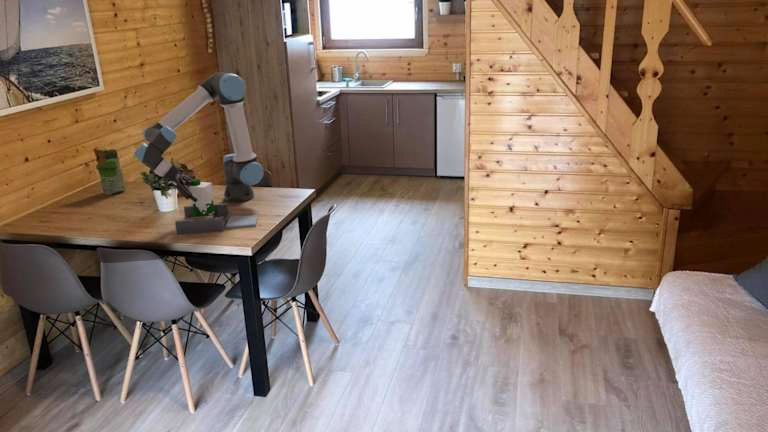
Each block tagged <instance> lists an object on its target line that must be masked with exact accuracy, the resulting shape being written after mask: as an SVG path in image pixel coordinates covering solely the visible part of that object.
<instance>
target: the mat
mask: <svg viewBox="0 0 768 432" xmlns="http://www.w3.org/2000/svg"><path fill="white" fill-rule="evenodd" d="M258 219H259V215H258V214H255V215H253V214H252V215H251V214H250V215H240V216H239V215H238V216H229V217H228V220H227V223H226V225H225V228H226V229H237V228H251V227H257V224H258V223H257V222H258Z"/></svg>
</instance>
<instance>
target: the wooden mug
mask: <svg viewBox="0 0 768 432" xmlns="http://www.w3.org/2000/svg"><path fill="white" fill-rule="evenodd" d="M170 163H171V165H172V166H175V167H176V168H178V169H179V171H180V172H181V173H182V174H184V175H185V176H187V177H189V178H191V179H197V177H196V175H197V174H196V172H195V171H194V169H193V168H192V169H185V170H184V169H183V168H182V165H181V163H180V161H178V159H175V158H172V157H171V159H170ZM186 187H187V188H188V189H189V186H187V185H186Z"/></svg>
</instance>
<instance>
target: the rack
mask: <svg viewBox="0 0 768 432" xmlns="http://www.w3.org/2000/svg"><path fill="white" fill-rule="evenodd" d="M183 211H184V212H183V213H184V218H183V219H180V220H175V221H174V224H175V230H176V235H178V236H179V235H191V234H204V233H218V232H224V231H225V228H226V226H227V223H228V220H229V217H230V213H229V211H230V210H229V204H228V202H226V203H214V211H215V218H207V219H193V220H185V219H186V218H190V217H194V212H193V205H184V206H183Z"/></svg>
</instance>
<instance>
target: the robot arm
mask: <svg viewBox="0 0 768 432" xmlns="http://www.w3.org/2000/svg"><path fill="white" fill-rule="evenodd" d="M246 91H247V87H246V82H245V81H244V79H243V78H242V77H240V76H239V75H237V74H235V73H231V72H230V73H229V72H223V71H218V72H215V73H213V74H211V75H210V76H209V77H207V78H206V79H204V81H202V82H200V84H198V85H197V89H196V90H195V91H194V92H193V93H191V94H190V95H189V96H188V97H187V98H185V99H184V100H183V101H181V102H180V103H179V104H178V105H177V106H175V107H174V108H173V109H172V110H171V111H170V112H168V113H167V114H166V115H165V116H163V117H162V118H161V119H160V120H159V121H157V122H156V123H154V124H153V125H151V126H147V127H146V128H144V129H143V133H142V134H143V135H142V137H143V139H144V140H145V141H146V142H147V143H148V144H147V143H145V142H143V143H141V144H140V146H139V147H138V148H137V149H136V150H135V151H134V154H133V155H134V158H135V159H137V160H138V161H139V162H141V164H143V165H145V166H146V167H147V168H149V170H151V171H152V172H153V173H155V175H158V176H159V177H162V179H163V180H164V181H165V182H167V183H170V182H171V181H172V182H171V185H172V186H173V187H174V188H175V189H176V190H177V191H178V192H179V193H180V194H181V195H182V196H183V197H184V199H186V200H187V201H188V200H191V202H192V201H193V202H194V203H196V204H197V205H198V206H200V207H202V206H203V205H204V204H205V202H204V201H202V200H201V199H200V198H198V197H197V196H196V195H194V194H193V195H192V193H191V192H190V190H189V189H188V188H187V187H186V185H187V186H190V185H191V180H193V179H191V178H189V177H187V176H185V175H184V174H182V173H181V172H180V173H179V174H178V172H179V169H178V168H176V167H175V166H173V165H172V164H171V161H169V160H167V159H166V158H165V157H164V156H163V155H164V154H165V153H166V151H167V150H168V149H169V148H170V147H171V145H173V143H175V141H176V140H177V138H178V134H177V132H175V130H176V129H177V128H179V127H180V126H181V125H183V124H184V123H185V122H186V121H188V120H189V119H190V118H191V117H192V116H193V115H194V114H196V113H197V112H198V111H199V110H201V109H202V108H203V107H204V106H205V105H206V104H208V103H209V102H210V103H212V102H214V101H215V100H217V99H218V101H219V105H220V106H221V107H223V108H224V112H225V117H226V121H227V125H228V129H229V135H230V139H231V142H232V143H231V144H232V147H233V153H230V154H226V155H224V156H223V158H222V159H223V160H222V161H223V162H222V164H223V169H224V179H225V183H226V184H225V188H224V194H223V197H224V200H225V201H226V202H231V203H232V202H234V203H237V202H245V201H249V200H252V199H253V198H254V197H255V192H254V189H253V187H252V186H254V185H257V184H258V183H259V182H261V180H262V178H263V177H264V168H263V166H262V165H261V164H260V163H259V160H258V155H257V154H256V153H255V152H253V147H252V143H251V139H250V134H249V128H248V123H247V119H246V115H245V110H244V106H243V104H244V102H245V101H246V98H245V94H246Z"/></svg>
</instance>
